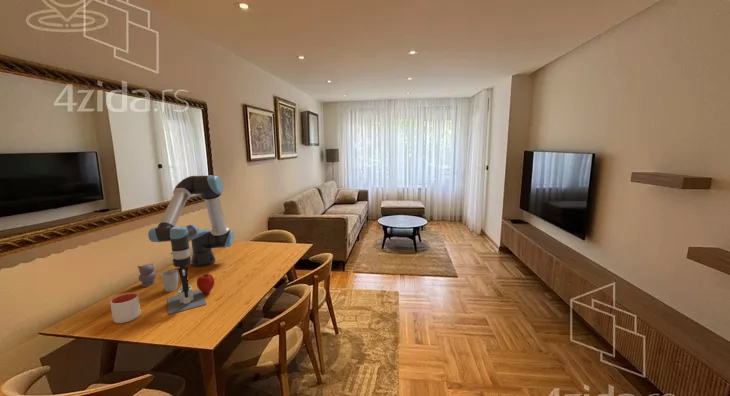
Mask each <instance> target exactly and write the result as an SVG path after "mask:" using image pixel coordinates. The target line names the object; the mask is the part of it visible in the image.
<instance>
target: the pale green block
mask: <svg viewBox="0 0 730 396" xmlns="http://www.w3.org/2000/svg"><path fill="white" fill-rule="evenodd" d="M188 287H189V296H190V301H193V300H194V299H193V291H194V290H193V286H192V284H191V285H189V284H188ZM186 289H187V288H186ZM182 290H183V288H182V287H177V293H178V295H179V301H180V304H181V303H184V300H183V292H181V291H182Z"/></svg>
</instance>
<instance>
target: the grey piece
mask: <svg viewBox="0 0 730 396" xmlns="http://www.w3.org/2000/svg"><path fill="white" fill-rule="evenodd" d="M193 299H194V300H193V301H190V302H189V303H186V304H184V303H181V304H180V301H179V294H176V295H173V296H169V297H167V313H168V315H169V316H170V315H173V314H174V315H175V314H176V313H181V312H184V311H187V310H191V309H195V308H199V307H200V308H201V307H203V306H206V305H207V302H206V299H205V294H204V293H203V292H202V291H200V290H199V289H198V290H193Z"/></svg>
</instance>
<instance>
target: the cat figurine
mask: <svg viewBox="0 0 730 396" xmlns="http://www.w3.org/2000/svg"><path fill="white" fill-rule="evenodd" d="M137 268H138V271H139V272H138V273H140V274H139V276H138V281H140V283H141V286H142V287H150V286H153V285H155V284H156V280H155V279H156V277H157V273H156V272H155V267H154V262H151V263H146V264H143V265H142V266H140V265H138V266H137ZM154 283H155V284H154ZM152 284H153V285H152ZM149 285H150V286H149Z"/></svg>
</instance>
